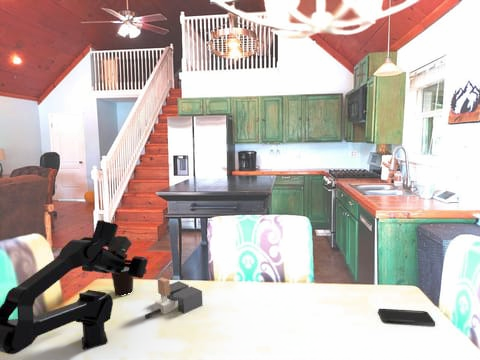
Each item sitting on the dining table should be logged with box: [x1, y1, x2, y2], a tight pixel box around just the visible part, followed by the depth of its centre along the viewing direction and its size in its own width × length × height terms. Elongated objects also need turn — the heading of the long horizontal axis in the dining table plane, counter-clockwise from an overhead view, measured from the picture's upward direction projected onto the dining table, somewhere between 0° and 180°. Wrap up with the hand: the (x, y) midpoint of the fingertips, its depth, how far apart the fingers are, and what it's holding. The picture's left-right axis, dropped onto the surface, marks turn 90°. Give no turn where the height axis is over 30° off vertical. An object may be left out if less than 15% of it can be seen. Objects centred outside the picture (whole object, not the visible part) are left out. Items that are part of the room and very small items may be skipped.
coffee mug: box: [110, 267, 134, 296], centre depth 131 cm, size 12×9×10 cm
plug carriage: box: [144, 277, 175, 319], centre depth 111 cm, size 10×5×11 cm, turn 137°
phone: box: [377, 308, 436, 327], centre depth 105 cm, size 8×1×15 cm
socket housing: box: [160, 281, 204, 315], centre depth 119 cm, size 8×14×5 cm, turn 47°
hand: (134, 270), depth 113 cm, fingers open, 9 cm apart
